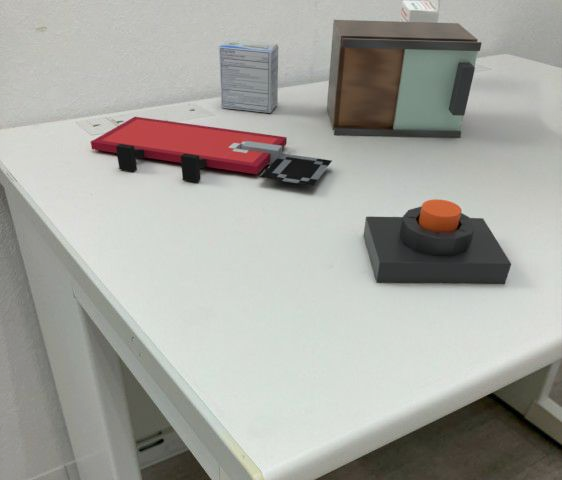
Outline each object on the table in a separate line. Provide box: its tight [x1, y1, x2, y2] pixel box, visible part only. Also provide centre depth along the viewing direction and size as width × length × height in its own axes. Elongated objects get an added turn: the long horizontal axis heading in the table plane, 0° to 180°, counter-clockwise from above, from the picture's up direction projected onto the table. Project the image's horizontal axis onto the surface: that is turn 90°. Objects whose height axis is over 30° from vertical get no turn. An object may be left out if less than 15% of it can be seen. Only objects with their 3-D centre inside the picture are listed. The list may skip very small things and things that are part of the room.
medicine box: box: [218, 39, 279, 114], centre depth 88 cm, size 8×4×9 cm, turn 76°
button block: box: [363, 205, 512, 285], centre depth 56 cm, size 12×9×4 cm
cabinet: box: [326, 19, 482, 138], centre depth 84 cm, size 18×12×12 cm, turn 92°
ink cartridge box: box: [399, 0, 441, 23], centre depth 99 cm, size 9×5×15 cm, turn 0°
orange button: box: [419, 198, 462, 232], centre depth 55 cm, size 4×4×2 cm
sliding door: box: [393, 49, 479, 131], centre depth 80 cm, size 10×3×11 cm, turn 92°
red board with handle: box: [90, 116, 333, 186], centre depth 74 cm, size 30×3×15 cm
